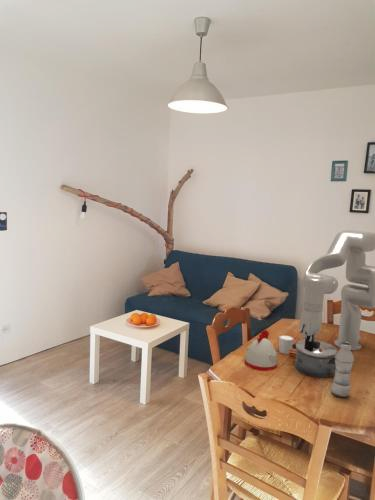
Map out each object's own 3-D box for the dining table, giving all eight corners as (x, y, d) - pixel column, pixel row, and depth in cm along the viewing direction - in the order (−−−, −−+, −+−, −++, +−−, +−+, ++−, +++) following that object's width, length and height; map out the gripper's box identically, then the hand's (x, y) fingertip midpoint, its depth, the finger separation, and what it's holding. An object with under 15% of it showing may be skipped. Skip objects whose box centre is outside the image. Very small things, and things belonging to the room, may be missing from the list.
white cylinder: (292, 355, 179) (294, 341, 178) (277, 353, 180) (279, 339, 179) (292, 349, 186) (293, 336, 185) (277, 348, 187) (278, 334, 186)
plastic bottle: (327, 390, 146) (332, 340, 144) (344, 390, 147) (350, 340, 144) (335, 399, 140) (341, 346, 137) (353, 399, 141) (359, 347, 138)
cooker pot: (302, 356, 178) (304, 337, 177) (356, 376, 159) (358, 356, 158) (281, 364, 167) (283, 345, 166) (336, 388, 149) (338, 366, 147)
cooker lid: (309, 339, 175) (309, 332, 175) (343, 351, 163) (344, 344, 162) (288, 347, 164) (289, 340, 164) (323, 360, 152) (324, 352, 152)
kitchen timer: (282, 364, 168) (285, 331, 166) (266, 374, 158) (269, 339, 156) (255, 354, 177) (258, 323, 175) (238, 363, 167) (240, 330, 165)
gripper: (314, 302, 165) (310, 343, 167) (294, 307, 155) (290, 350, 157) (330, 306, 159) (326, 348, 162) (311, 311, 149) (306, 356, 152)
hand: (308, 349), depth 160 cm, fingers closed
